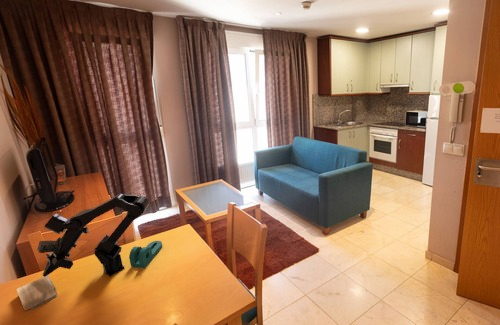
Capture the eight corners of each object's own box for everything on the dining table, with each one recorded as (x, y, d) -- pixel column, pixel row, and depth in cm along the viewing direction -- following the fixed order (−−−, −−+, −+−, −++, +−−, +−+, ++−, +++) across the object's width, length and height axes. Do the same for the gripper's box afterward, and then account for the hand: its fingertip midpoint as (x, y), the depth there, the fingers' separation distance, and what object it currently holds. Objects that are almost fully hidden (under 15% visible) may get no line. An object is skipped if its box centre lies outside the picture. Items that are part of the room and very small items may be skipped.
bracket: (144, 268, 113) (142, 253, 111) (131, 267, 114) (128, 252, 112) (165, 245, 130) (162, 231, 128) (152, 244, 131) (150, 230, 129)
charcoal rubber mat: (47, 280, 108) (47, 280, 108) (56, 296, 100) (56, 296, 99) (23, 292, 103) (23, 291, 103) (30, 310, 94) (30, 309, 94)
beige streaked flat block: (47, 274, 107) (16, 289, 100) (55, 287, 100) (22, 304, 93) (49, 280, 108) (18, 295, 101) (57, 294, 101) (24, 310, 93)
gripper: (43, 225, 107) (17, 261, 102) (55, 241, 95) (25, 282, 90) (70, 233, 115) (46, 267, 110) (84, 249, 102) (58, 288, 98)
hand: (43, 275), depth 102 cm, fingers closed
